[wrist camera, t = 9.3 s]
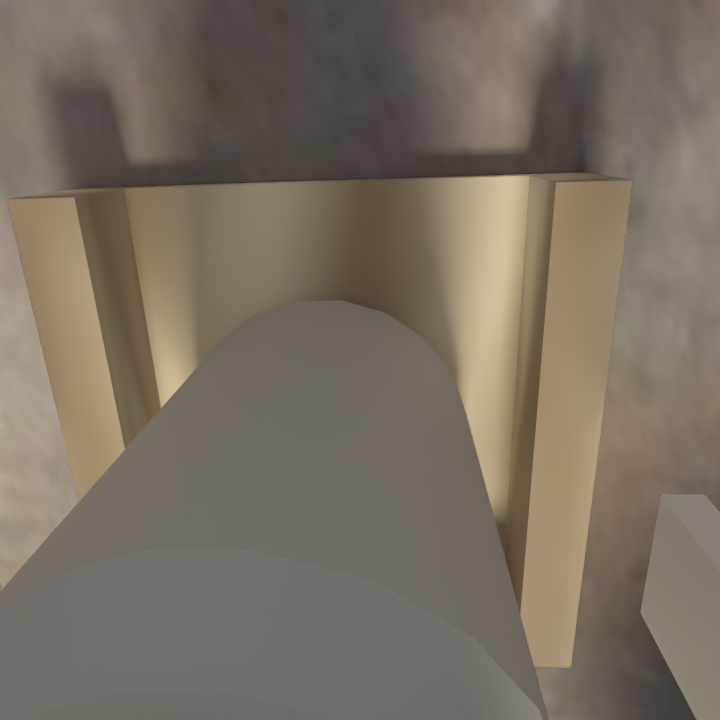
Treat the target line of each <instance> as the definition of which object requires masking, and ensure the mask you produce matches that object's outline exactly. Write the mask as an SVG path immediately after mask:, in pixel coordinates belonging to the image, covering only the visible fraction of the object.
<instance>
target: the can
mask: <svg viewBox="0 0 720 720" xmlns="http://www.w3.org/2000/svg"><path fill="white" fill-rule="evenodd" d="M0 720H548V716H547V712H546V708H545V705H544V701H543V697H542V694H541V690H540V686H539V682H538V679H537V675H536V671H535V667H534V664H533V660H532V656H531V653H530V649H529V645H528V641H527V638H526V634H525V630H524V627H523V623H522V619H521V615H520V612H519V608H518V604H517V600H516V597H515V593H514V589H513V586H512V582H511V578H510V574H509V571H508V567H507V563H506V559H505V556H504V552H503V548H502V545H501V541H500V537H499V533H498V530H497V526H496V522H495V519H494V515H493V511H492V507H491V504H490V500H489V496H488V492H487V489H486V485H485V481H484V478H483V474H482V470H481V466H480V463H479V459H478V455H477V452H476V448H475V444H474V440H473V437H472V433H471V429H470V425H469V422H468V418H467V414H466V411H465V408H464V405H463V402H462V399H461V396H460V393H459V391H458V388H457V385H456V382H455V379H454V376H453V373H452V372H451V371H450V369H449V368H448V367H447V366H446V364H445V363H444V362H443V360H442V359H441V358H440V357H439V355H438V354H437V353H436V352H435V350H434V349H433V348H432V346H431V345H430V344H429V343H428V341H427V340H426V339H425V338H424V337H422V336H421V335H419V334H418V333H416V332H415V331H413V330H411V329H410V328H408V327H407V326H405V325H404V324H402V323H401V322H399V321H398V320H396V319H395V318H393V317H392V316H390V315H389V314H387V313H384V312H381V311H377V310H374V309H370V308H367V307H363V306H360V305H356V304H353V303H349V302H346V301H342V300H331V301H295V302H291V303H289V304H286V305H283V306H280V307H277V308H275V309H272V310H269V311H266V312H263V313H261V314H258V315H255V316H252V317H250V318H249V319H248V320H247V321H245V322H244V323H243V324H242V325H240V326H239V327H238V328H237V329H235V330H234V331H233V332H232V333H230V334H229V335H228V336H227V337H225V338H224V339H223V340H222V341H220V342H219V343H218V344H217V345H216V346H215V347H214V349H213V350H212V351H211V352H210V353H209V354H208V355H207V357H206V358H205V359H204V360H203V361H202V362H201V363H200V365H199V366H198V367H197V368H196V369H195V370H194V371H193V373H192V374H191V375H190V376H189V377H188V378H187V379H186V381H185V382H184V383H183V384H182V385H181V386H180V387H179V389H178V390H177V391H176V392H175V393H174V394H173V395H172V396H171V398H170V399H169V400H168V401H167V402H166V403H165V404H164V406H163V407H162V408H161V409H160V410H159V411H158V412H157V414H156V415H155V416H154V417H153V418H152V419H151V420H150V422H149V423H148V424H147V425H146V426H145V427H144V428H143V430H142V431H141V432H140V433H139V434H138V435H137V436H136V438H135V439H134V440H133V441H132V442H131V443H130V444H129V446H128V447H127V448H126V449H125V450H124V451H123V452H122V454H121V455H120V456H119V457H118V458H117V459H116V460H115V461H114V463H113V464H112V465H111V466H110V467H109V468H108V469H107V471H106V472H105V473H104V474H103V475H102V476H101V477H100V479H99V480H98V481H97V482H96V483H95V484H94V485H93V487H92V488H91V489H90V490H89V491H88V492H87V493H86V495H85V496H84V497H83V498H82V499H81V500H80V501H79V503H78V504H77V505H76V506H75V507H74V508H73V509H72V511H71V512H70V513H69V514H68V515H67V516H66V517H65V519H64V520H63V521H62V522H61V523H60V524H59V525H58V526H57V528H56V529H55V530H54V531H53V532H52V533H51V534H50V536H49V537H48V538H47V539H46V540H45V541H44V542H43V544H42V545H41V546H40V547H39V548H38V549H37V550H36V552H35V553H34V554H33V555H32V556H31V557H30V558H29V560H28V561H27V562H26V563H25V564H24V565H23V566H22V568H21V569H20V570H19V571H18V572H17V573H16V574H15V576H14V577H13V578H12V579H11V580H10V581H9V582H8V584H7V585H6V586H5V587H4V588H3V589H2V590H1V591H0Z"/></svg>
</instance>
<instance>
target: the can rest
mask: <svg viewBox="0 0 720 720" xmlns="http://www.w3.org/2000/svg"><path fill="white" fill-rule="evenodd" d="M632 182H633V180H629V179H623V178H617V177H611V176H605V175H599V174H593V173H587V172H578V173H547V174H515V175H484V176H452V177H421V178H389V179H358V180H326V181H295V182H263V183H232V184H200V185H169V186H137V187H105V188H77V189H70V190H64V191H57V192H51V193H45V194H38V195H32V196H25V197H19V198H12V199H6V201H7V205H8V210H9V214H10V218H11V222H12V226H13V230H14V234H15V239H16V243H17V247H18V251H19V255H20V259H21V263H22V268H23V272H24V276H25V280H26V284H27V288H28V292H29V297H30V301H31V305H32V309H33V313H34V317H35V321H36V326H37V330H38V334H39V338H40V342H41V346H42V350H43V355H44V359H45V363H46V367H47V371H48V375H49V379H50V384H51V388H52V392H53V396H54V400H55V404H56V408H57V412H58V417H59V421H60V425H61V429H62V433H63V437H64V441H65V446H66V450H67V454H68V458H69V462H70V466H71V470H72V475H73V479H74V483H75V487H76V491H77V495H78V499H79V501H80V500H81V499H82V498H83V497H84V496H85V495H86V493H87V492H88V491H89V490H90V489H91V488H92V487H93V485H94V484H95V483H96V482H97V481H98V480H99V479H100V477H101V476H102V475H103V474H104V473H105V472H106V471H107V469H108V468H109V467H110V466H111V465H112V464H113V463H114V461H115V460H116V459H117V458H118V457H119V456H120V455H121V454H122V452H123V451H124V450H125V449H126V448H127V447H128V446H129V444H130V443H131V442H132V441H133V440H134V439H135V438H136V436H137V435H138V434H139V433H140V432H141V431H142V430H143V428H144V427H145V426H146V425H147V424H148V423H149V422H150V420H151V419H152V418H153V417H154V416H155V415H156V414H157V412H158V411H159V410H160V409H161V408H162V407H163V406H164V404H165V403H166V402H167V401H168V400H169V399H170V398H171V396H172V395H173V394H174V393H175V392H176V391H177V390H178V389H179V387H180V386H181V385H182V384H183V383H184V382H185V381H186V379H187V378H188V377H189V376H190V375H191V374H192V373H193V371H194V370H195V369H196V368H197V367H198V366H199V365H200V363H201V362H202V361H203V360H204V359H205V358H206V357H207V355H208V354H209V353H210V352H211V351H212V350H213V349H214V347H215V346H216V345H217V344H218V343H219V342H220V341H222V340H223V339H224V338H225V337H227V336H228V335H229V334H230V333H232V332H233V331H234V330H235V329H237V328H238V327H239V326H240V325H242V324H243V323H244V322H245V321H247V320H248V319H249V318H250V317H252V316H255V315H258V314H261V313H263V312H266V311H269V310H272V309H275V308H277V307H280V306H283V305H286V304H289V303H291V302H295V301H331V300H342V301H346V302H349V303H353V304H356V305H360V306H363V307H367V308H370V309H374V310H377V311H381V312H384V313H387V314H389V315H390V316H392V317H393V318H395V319H396V320H398V321H399V322H401V323H402V324H404V325H405V326H407V327H408V328H410V329H411V330H413V331H415V332H416V333H418V334H419V335H421V336H422V337H424V338H425V339H426V340H427V341H428V343H429V344H430V345H431V346H432V348H433V349H434V350H435V352H436V353H437V354H438V355H439V357H440V358H441V359H442V360H443V362H444V363H445V364H446V366H447V367H448V368H449V369H450V371H451V372H452V373H453V376H454V379H455V382H456V385H457V388H458V391H459V393H460V396H461V399H462V402H463V405H464V408H465V411H466V414H467V418H468V422H469V425H470V429H471V433H472V437H473V440H474V444H475V448H476V452H477V455H478V459H479V463H480V466H481V470H482V474H483V478H484V481H485V485H486V489H487V492H488V496H489V500H490V504H491V507H492V511H493V515H494V519H495V522H496V526H497V530H498V533H499V537H500V541H501V545H502V548H503V552H504V556H505V559H506V563H507V567H508V571H509V574H510V578H511V582H512V586H513V589H514V593H515V597H516V600H517V604H518V608H519V612H520V615H521V619H522V623H523V627H524V630H525V634H526V638H527V641H528V645H529V649H530V653H531V656H532V660H533V664H534V667H571V661H572V654H573V646H574V638H575V630H576V622H577V614H578V606H579V599H580V591H581V583H582V575H583V567H584V559H585V551H586V544H587V536H588V528H589V520H590V512H591V504H592V496H593V489H594V481H595V473H596V465H597V457H598V449H599V441H600V434H601V426H602V418H603V410H604V402H605V394H606V386H607V379H608V371H609V363H610V355H611V347H612V339H613V331H614V324H615V316H616V308H617V300H618V292H619V284H620V277H621V269H622V261H623V253H624V245H625V237H626V229H627V222H628V214H629V206H630V198H631V190H632Z"/></svg>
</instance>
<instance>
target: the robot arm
mask: <svg viewBox="0 0 720 720" xmlns="http://www.w3.org/2000/svg"><path fill="white" fill-rule="evenodd" d="M0 591H1V586H0ZM640 613H641V615H642V617H643V619H644V621H645V622H646V624H647V626H648V628H649V630H650V632H651V634H652V636H653V638H654V640H655V642H656V644H657V645H658V647H659V649H660V651H661V653H662V655H663V657H664V659H665V661H666V663H667V665H668V666H669V668H670V670H671V672H672V674H673V676H674V678H675V680H676V682H677V684H678V686H679V687H680V689H681V691H682V693H683V695H684V697H685V699H686V701H687V703H688V705H689V707H690V708H691V710H692V712H693V714H694V716H695V718H696V720H720V511H719V510H718V509H717V508H716V507H715V506H714V504H713V503H712V502H711V501H710V500H709V499H708V498H707V496H706V495H705V494H661V498H660V503H659V509H658V515H657V521H656V526H655V532H654V538H653V543H652V549H651V555H650V560H649V566H648V572H647V577H646V583H645V589H644V594H643V600H642V606H641V611H640Z"/></svg>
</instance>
